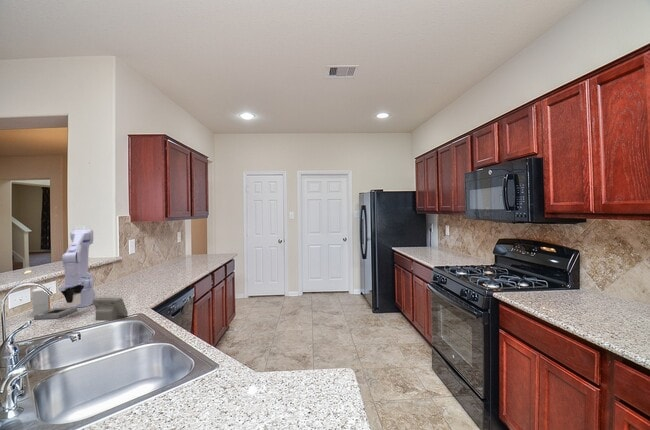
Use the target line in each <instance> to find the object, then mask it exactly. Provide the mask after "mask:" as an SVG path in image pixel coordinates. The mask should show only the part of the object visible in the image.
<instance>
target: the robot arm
mask: <svg viewBox="0 0 650 430" xmlns="http://www.w3.org/2000/svg"><path fill="white" fill-rule="evenodd" d="M69 237H70V240H71V242H72V243H70V244H69V245H68V247H67V249H66V252H65V253H63V254H62V256H61V261H62V267H63V268H64V270H63V271H64V284H63V285H62V286H59V287H58V292H60V293H61V294H62V295H63V296H64V298H65V302H66V301H67V303H71V302H72V301H73V293H74V292H75V293H81V304H78V305H76V306H71V307H77V308H85V307H86V308H87V307H88V306H90V305H94V303H93V298H95V297H96V290H95V289H94V287H95V279H94V275H93V274H91V273H89V252H90V251H89V249H90V245H92V244H94V230H93V229H92V228H91V229H75V230H74V229H72V230H71V231H70V232H69Z"/></svg>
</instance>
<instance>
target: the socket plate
mask: <svg viewBox="0 0 650 430" xmlns="http://www.w3.org/2000/svg"><path fill="white" fill-rule="evenodd" d="M77 311H78V307H72V306H68V307H54V308H50V310H48V311H46V312H43V313H40V314H38V315H35V316H33V320H34V321H38V320H39V321H40V320H58V319H59V320H60V319H61V318H65V317H66V316H68V315H72V314H73V313H75V312H77Z"/></svg>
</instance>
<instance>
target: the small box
mask: <svg viewBox="0 0 650 430" xmlns="http://www.w3.org/2000/svg"><path fill="white" fill-rule="evenodd" d="M40 288H41V287H40ZM40 288H33V290H32V291H31V294H32V295H31V297H32V299H31V300H32V316H33V317H34V316H35V315H38V314H40V313H43V312H46V311H48V310H51V295H50V296H49V295H48V294H47V293H46V292H44V291H43V290H42V289H40ZM47 288H48V289H49V290H50V286H47Z"/></svg>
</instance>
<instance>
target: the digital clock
mask: <svg viewBox="0 0 650 430" xmlns="http://www.w3.org/2000/svg"><path fill="white" fill-rule="evenodd" d="M93 305H94V308H95V320H96V321H113V319H114V320H116V319H118V318H120V317H121V318H123V317H127V316H128V314H129V313H128V310H127V307H126V304H125V301H124V300H123V297H118V296H117V297H116V296H111V297H108V296H100V297H99V296H97V297H96V296H95V298H93ZM117 317H118V318H117ZM115 318H116V319H115Z"/></svg>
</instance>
